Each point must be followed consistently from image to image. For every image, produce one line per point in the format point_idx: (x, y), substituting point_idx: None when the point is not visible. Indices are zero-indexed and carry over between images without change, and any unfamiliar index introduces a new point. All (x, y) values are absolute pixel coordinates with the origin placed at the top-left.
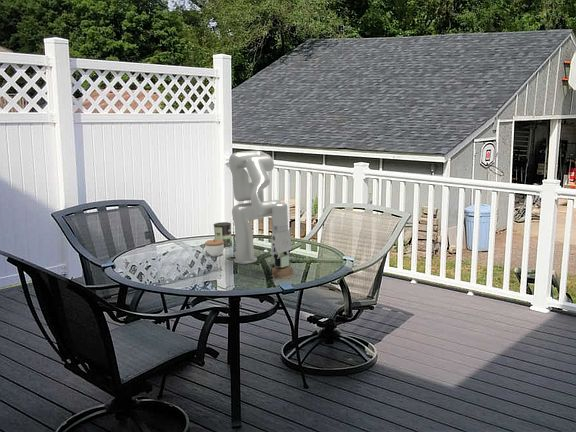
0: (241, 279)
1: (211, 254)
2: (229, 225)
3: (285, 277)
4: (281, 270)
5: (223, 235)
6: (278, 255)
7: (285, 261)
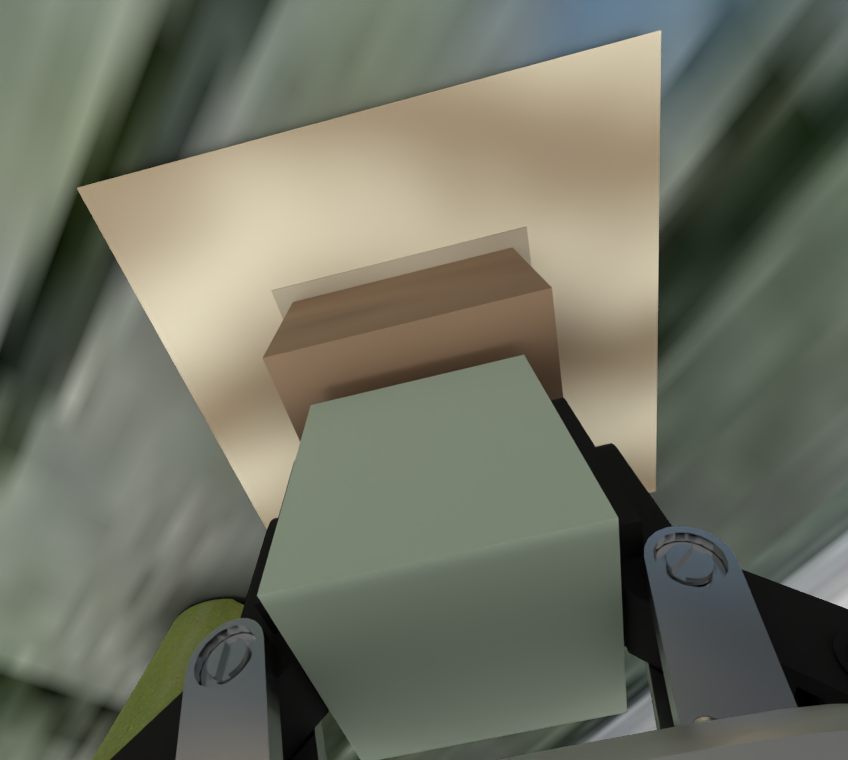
0: (754, 547)
1: None
2: None
3: (453, 256)
4: (550, 307)
5: None
6: (729, 631)
7: (423, 443)
